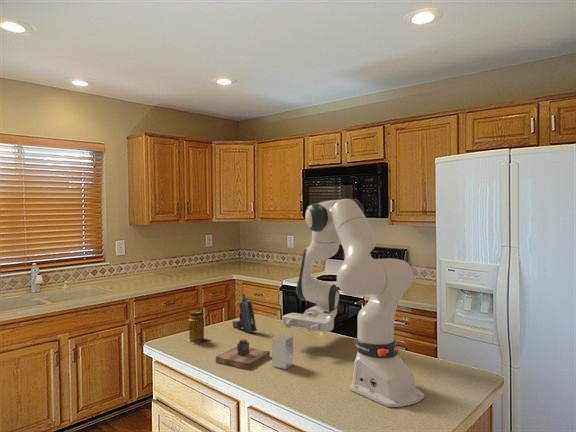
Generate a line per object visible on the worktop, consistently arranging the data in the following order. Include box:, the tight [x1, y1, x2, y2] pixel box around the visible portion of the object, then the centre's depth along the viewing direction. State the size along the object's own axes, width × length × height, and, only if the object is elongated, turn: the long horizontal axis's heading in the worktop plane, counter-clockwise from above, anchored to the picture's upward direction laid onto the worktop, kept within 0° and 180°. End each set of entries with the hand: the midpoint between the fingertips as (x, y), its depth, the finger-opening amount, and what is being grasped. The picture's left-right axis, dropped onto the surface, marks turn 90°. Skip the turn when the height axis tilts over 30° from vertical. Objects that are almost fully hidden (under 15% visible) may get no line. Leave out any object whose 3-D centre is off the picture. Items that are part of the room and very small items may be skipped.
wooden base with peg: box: [215, 338, 271, 370], centre depth 151 cm, size 14×14×7 cm
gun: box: [232, 293, 258, 333], centre depth 189 cm, size 3×17×15 cm
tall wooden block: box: [271, 333, 294, 370], centre depth 145 cm, size 5×5×10 cm
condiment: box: [186, 310, 212, 345], centre depth 174 cm, size 7×8×12 cm
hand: (298, 327), depth 156 cm, fingers open, 8 cm apart
